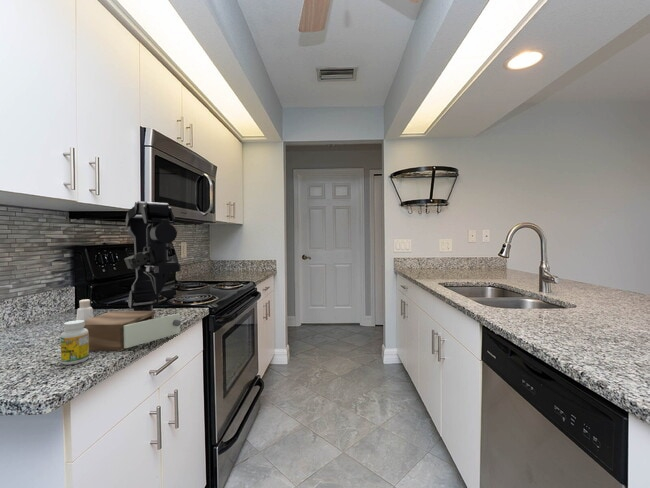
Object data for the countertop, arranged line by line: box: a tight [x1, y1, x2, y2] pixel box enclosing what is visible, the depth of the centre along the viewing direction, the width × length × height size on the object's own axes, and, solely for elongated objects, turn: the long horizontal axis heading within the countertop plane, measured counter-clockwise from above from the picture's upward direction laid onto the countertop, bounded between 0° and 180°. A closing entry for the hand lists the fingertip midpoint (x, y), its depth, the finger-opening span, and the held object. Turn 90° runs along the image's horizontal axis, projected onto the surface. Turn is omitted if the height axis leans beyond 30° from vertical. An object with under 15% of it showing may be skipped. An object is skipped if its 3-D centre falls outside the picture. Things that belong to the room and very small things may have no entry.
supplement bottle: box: [59, 319, 90, 366], centre depth 76 cm, size 5×5×10 cm
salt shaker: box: [75, 298, 95, 320], centre depth 97 cm, size 5×5×11 cm
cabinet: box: [84, 310, 156, 352], centre depth 91 cm, size 16×14×7 cm
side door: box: [124, 312, 181, 349], centre depth 89 cm, size 16×2×6 cm, turn 150°
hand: (157, 294), depth 95 cm, fingers closed
